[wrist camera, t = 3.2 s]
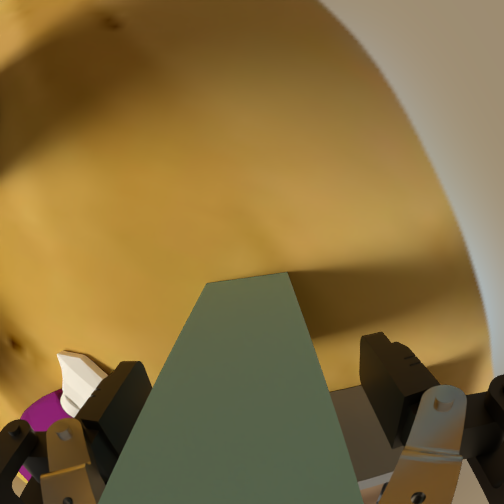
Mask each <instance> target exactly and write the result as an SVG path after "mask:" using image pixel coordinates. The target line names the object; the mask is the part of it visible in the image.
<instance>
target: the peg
mask: <svg viewBox="0 0 504 504" xmlns="http://www.w3.org/2000/svg"><path fill="white" fill-rule="evenodd" d="M98 504H364V502H363V499H362V496H361V492H360V489H359V485H358V482H357V479H356V475H355V472H354V469H353V465H352V462H351V459H350V456H349V452H348V449H347V446H346V443H345V440H344V437H343V433H342V430H341V427H340V424H339V421H338V418H337V415H336V412H335V408H334V405H333V402H332V399H331V396H330V393H329V390H328V387H327V384H326V381H325V378H324V375H323V372H322V369H321V366H320V363H319V361H318V358H317V355H316V352H315V349H314V346H313V343H312V340H311V337H310V334H309V332H308V329H307V326H306V323H305V320H304V317H303V315H302V312H301V309H300V306H299V303H298V300H297V298H296V295H295V292H294V289H293V287H292V284H291V281H290V278H289V276H288V273H287V272H284V273H277V274H270V275H263V276H256V277H249V278H242V279H235V280H228V281H220V282H213V283H207V284H206V285H205V287H204V289H203V291H202V293H201V295H200V297H199V299H198V300H197V302H196V304H195V306H194V308H193V310H192V312H191V314H190V316H189V318H188V320H187V321H186V323H185V325H184V327H183V329H182V331H181V333H180V335H179V337H178V339H177V341H176V343H175V345H174V347H173V349H172V351H171V352H170V354H169V356H168V358H167V360H166V362H165V364H164V366H163V368H162V370H161V372H160V374H159V376H158V378H157V380H156V382H155V384H154V386H153V388H152V390H151V392H150V394H149V396H148V398H147V400H146V402H145V404H144V406H143V408H142V410H141V412H140V415H139V417H138V419H137V421H136V423H135V425H134V427H133V429H132V431H131V433H130V435H129V437H128V439H127V442H126V444H125V446H124V448H123V450H122V452H121V454H120V456H119V458H118V461H117V463H116V465H115V467H114V469H113V471H112V474H111V476H110V478H109V480H108V482H107V484H106V487H105V489H104V491H103V493H102V495H101V498H100V500H99V502H98Z"/></svg>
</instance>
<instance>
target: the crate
mask: <svg viewBox="0 0 504 504" xmlns="http://www.w3.org/2000/svg"><path fill="white" fill-rule="evenodd" d="M329 393H330V396H331V399H332V402H333V405H334V408H335V412H336V415H337V418H338V421H339V424H340V427H341V430H342V433H343V437H344V440H345V443H346V446H347V449H348V452H349V456H350V459H351V462H352V465H353V469H354V472H355V475H356V479H357V482H358V485H359V489H360V490H363V489H366V488H370V487H373V486H377V485H380V484H383V483H384V484H383V487H382V490H381V492H380V495H379V497H378V500H377V503H376V504H378V502H379V501H380V499H381V497H382V495H383V493H384V491H385V489H386V487H387V485H388V483H389V480H390V478H391V476H392V474H393V472H394V470H395V467H396V465H397V463H398V460H399V458H400V455H401V453H402V451H403V449H404V446H401V447H398V448H395V449H392V448H391V446H390V444H389V442H388V440H387V437H386V435H385V433H384V431H383V429H382V427H381V425H380V423H379V420H378V418H377V416H376V414H375V412H374V410H373V408H372V406H371V404H370V402H369V400H368V398H367V396H366V394H365V392H364V390H363V387H362V385H361V386H357V387H352V388H348V389H343V390H339V391H334V392H329Z"/></svg>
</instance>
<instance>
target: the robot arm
mask: <svg viewBox="0 0 504 504" xmlns="http://www.w3.org/2000/svg"><path fill="white" fill-rule="evenodd" d="M359 373H360V381H361V385H362V387H363V390H364V392H365V394H366V396H367V398H368V400H369V402H370V404H371V406H372V408H373V410H374V412H375V414H376V416H377V418H378V420H379V423H380V425H381V427H382V429H383V431H384V433H385V435H386V437H387V440H388V442H389V444H390V446H391V448H392V449H395V448H398V447H401V446H404V449H403V451H402V453H401V455H400V458H399V460H398V463H397V465H396V467H395V470H394V472H393V474H392V476H391V478H390V480H389V483H388V485H387V487H386V489H385V491H384V493H383V495H382V497H381V499H380V501H379V502H378V504H451V503H452V500H453V497H454V493H455V490H456V486H457V482H458V479H459V474H460V470H461V466H462V460H463V459H467V461H468V463H469V465H470V466H471V468H472V470H473V472H474V474H475V476H476V478H477V480H478V481H479V484H480V486H481V488H482V489H483V492H484V494H485V495H486V498H487V500H488V502H489V504H504V375H500V376H497V377H496V378H494V379H493V380H492V381H491V383H490V386H489V389H488V391H487V392H482V393H476V394H471V395H465V394H464V392H463V391H462V390H460V389H459V388H457V387H455V386H451V385H440V384H439V382H438V381H437V380H436V379H435V378H434V376H433V375H432V374H431V373H430V372H429V371H428V369H427V368H426V367H425V366H424V365H423V364H422V363H421V361H420V360H419V359H418V358H417V357H415V354H414V353H413V352H412V351H411V350H410V349H409V348H408V347H407V346H405V345H403V344H401V343H399V342H393V343H391V342H390V341H389V339H388V338H387V337H386V336H385V335H384V333H383V332H378V333H374V334H369V335H365V336H362V337H361V340H360V370H359ZM151 390H152V386H151V383H150V381H149V378H148V376H147V373H146V370H145V368H144V365H143V364H142V362H140V361H122V362H120V364H119V365H118V366H117V368H116V369H115V370H114V372H113V373H111V374H110V375H108V376H107V377H106V378H104V379H103V380H102V381H101V382H100V383H99V385H98V386H97V387H96V390H94V391H93V393H92V394H91V397H89V398H88V399H87V401H86V402H85V403H84V405H83V406H82V408H81V409H80V410H79V412H78V413H77V414H76V416H75V417H74V418H63V419H60V420H58V421H56V422H54V423H53V424H52V425H51V426H50V427H49V428H48V430H47V431H34V430H33V429H32V427H31V426H30V424H29V423H28V422H27V421H26V420H23V419H18V420H14V421H12V422H10V423H8V424H7V425H6V426H5V427H4V428H3V429H2V431H1V432H0V504H98V502H99V500H100V498H101V495H102V493H103V491H104V489H105V487H106V484H107V482H108V480H109V478H110V476H111V474H112V471H113V469H114V467H115V465H116V463H117V461H118V458H119V456H120V454H121V452H122V450H123V448H124V446H125V444H126V442H127V439H128V437H129V435H130V433H131V431H132V429H133V427H134V425H135V423H136V421H137V419H138V417H139V415H140V412H141V410H142V408H143V406H144V404H145V402H146V400H147V398H148V396H149V394H150V392H151ZM22 465H23V466H24V467H25V468H26V469H27V471H28V472H29V473H30V474H31V475H32V476H31V478H30V480H29V481H28V483H27V485H26V487H25V488H24V490H23V492H22V494H21V496H20V498H19V497H18V496H17V495H16V494H15V493H14V491H13V489H12V481H13V479H14V478H15V476H16V475H17V473H18V471H19V470H20V468H21V467H22Z"/></svg>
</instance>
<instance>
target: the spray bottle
mask: <svg viewBox="0 0 504 504" xmlns="http://www.w3.org/2000/svg"><path fill="white" fill-rule="evenodd" d="M57 357H58V360H59V362H60V365H61V368H62V376H63V385H62V389H59V390H57V391H55V392H52V393H50V394H48V395H46V396H44V397H42V398H41V399H39V400H38V401H36V402H35V403H33V404H32V405H31V406H30V407H29V408H28V409H26V410H25V411H24V413H23V414H22V416H21V418H20V419H23V420H26V421H27V422H28V423H29V424H30V426H31V427H32V429H33V430H34V431H47V430H48V428H49V427H50V426H51V425H52V424H53V423H54V422H56V421H58V420H60V419H63V418H74V417H75V416H76V414H77V413H78V412H79V410H80V409H81V408H82V406H83V405H84V403H85V402H86V401H87V399H88V398H89V397H91V394H92V393H93V391H94V390H96V387H97V386H98V385H99V383H100V382H101V381H102V380H103V379H104V378H106V377H107V376H108V375H107V374H106V373H105V372H104V371H103V370H102V369H100V368H99V367H98V366H97V365H96V364H95V363H94V362H93V361H92V360H90V359H89V358H88V357H87V356H85V355H83V354H78V353H72V352H67V351H62V352H59V353H57ZM19 472H20V473H21V474H22V475H23V476H24V477H25V478H26V479H27V480H28V481H29V480H30V478H31V476H32V475H31V474H30V473H29V472H28V471H27V469H26V468H25V467H24V466H23V465H22V467H21V468H20V470H19Z"/></svg>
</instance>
